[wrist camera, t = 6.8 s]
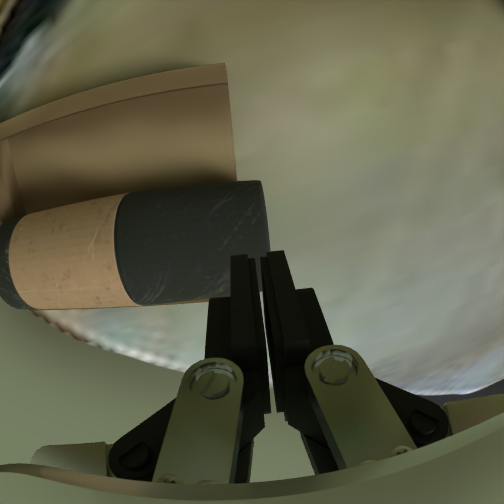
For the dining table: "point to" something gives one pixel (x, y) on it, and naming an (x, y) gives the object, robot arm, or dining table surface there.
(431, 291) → the dining table surface
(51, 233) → the travel mug
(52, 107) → the tray
